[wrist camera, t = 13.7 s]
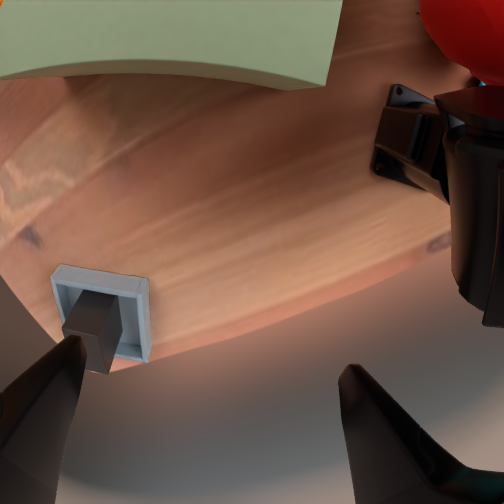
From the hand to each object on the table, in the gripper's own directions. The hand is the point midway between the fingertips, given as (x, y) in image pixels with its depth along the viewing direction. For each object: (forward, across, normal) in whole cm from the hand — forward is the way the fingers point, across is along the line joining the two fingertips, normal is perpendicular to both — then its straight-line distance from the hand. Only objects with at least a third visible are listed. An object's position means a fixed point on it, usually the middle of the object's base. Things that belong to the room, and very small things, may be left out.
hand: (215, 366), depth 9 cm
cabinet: (+12, +5, -15) cm, 20 cm away
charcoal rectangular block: (+11, +9, +10) cm, 17 cm away
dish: (+12, +9, +10) cm, 18 cm away
